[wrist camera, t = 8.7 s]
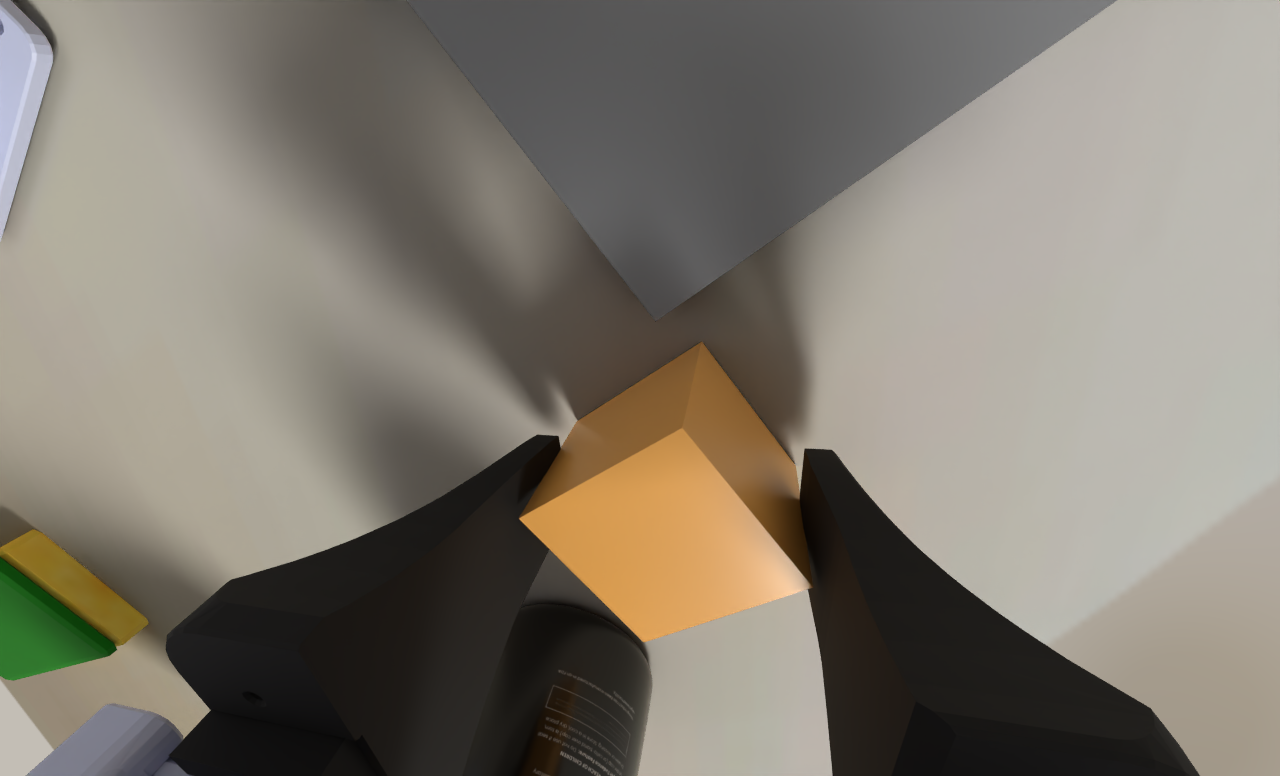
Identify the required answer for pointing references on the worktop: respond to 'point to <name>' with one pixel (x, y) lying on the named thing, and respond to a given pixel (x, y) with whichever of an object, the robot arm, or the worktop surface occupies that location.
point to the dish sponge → (55, 610)
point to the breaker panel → (726, 107)
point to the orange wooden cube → (675, 502)
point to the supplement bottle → (563, 699)
